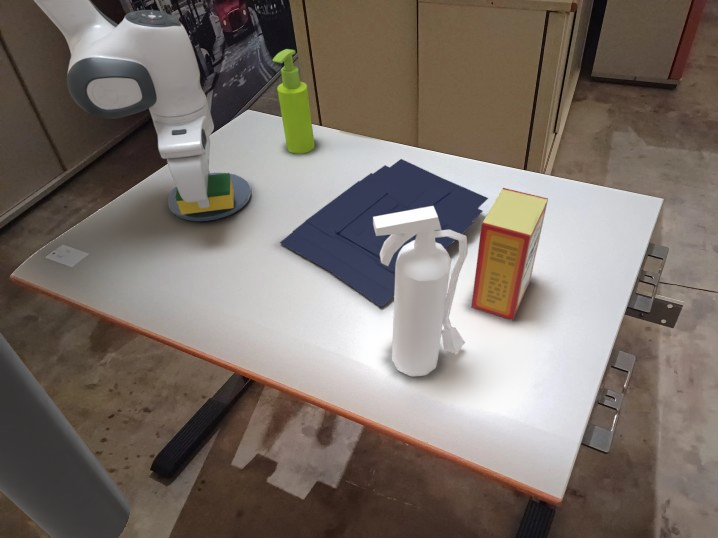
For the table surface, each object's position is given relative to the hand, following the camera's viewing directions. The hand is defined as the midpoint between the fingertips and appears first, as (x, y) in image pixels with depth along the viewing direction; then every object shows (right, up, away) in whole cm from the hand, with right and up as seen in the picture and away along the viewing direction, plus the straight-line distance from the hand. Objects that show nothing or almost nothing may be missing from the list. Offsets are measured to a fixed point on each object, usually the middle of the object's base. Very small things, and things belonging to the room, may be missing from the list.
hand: (205, 194), depth 98 cm
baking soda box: (+50, -18, -13) cm, 55 cm away
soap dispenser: (+13, +14, +20) cm, 27 cm away
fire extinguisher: (+38, -27, -22) cm, 51 cm away
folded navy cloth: (+33, -7, -1) cm, 34 cm away
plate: (-1, 0, +6) cm, 6 cm away
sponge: (0, -1, +1) cm, 2 cm away
